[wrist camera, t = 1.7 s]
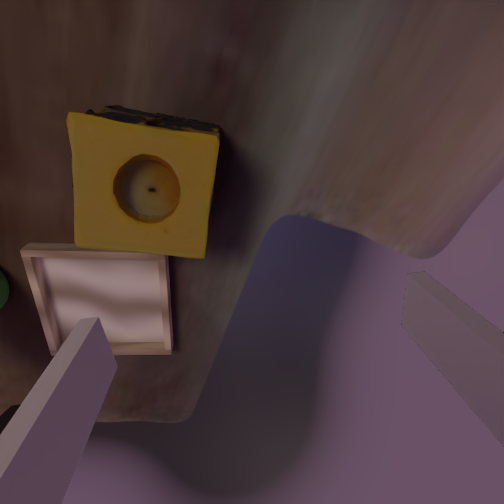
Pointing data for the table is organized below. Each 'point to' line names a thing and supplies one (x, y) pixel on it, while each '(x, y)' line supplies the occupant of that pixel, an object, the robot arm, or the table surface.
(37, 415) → the robot arm
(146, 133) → the candle
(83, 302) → the slot frame
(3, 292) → the wine bottle
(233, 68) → the table surface
